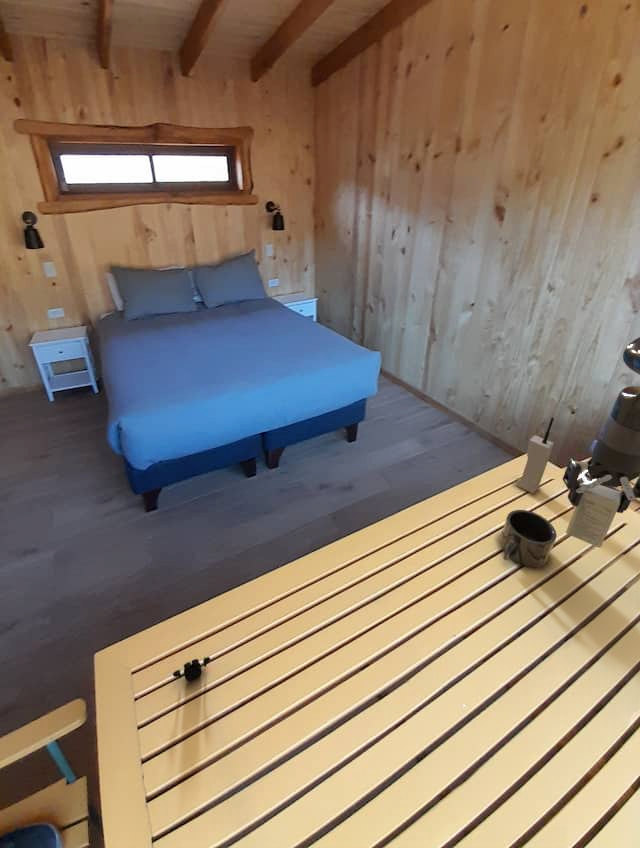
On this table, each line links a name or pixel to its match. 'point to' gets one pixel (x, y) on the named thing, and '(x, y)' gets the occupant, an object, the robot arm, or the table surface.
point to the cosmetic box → (594, 514)
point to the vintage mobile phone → (536, 461)
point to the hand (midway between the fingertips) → (595, 506)
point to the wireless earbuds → (192, 669)
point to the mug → (527, 538)
